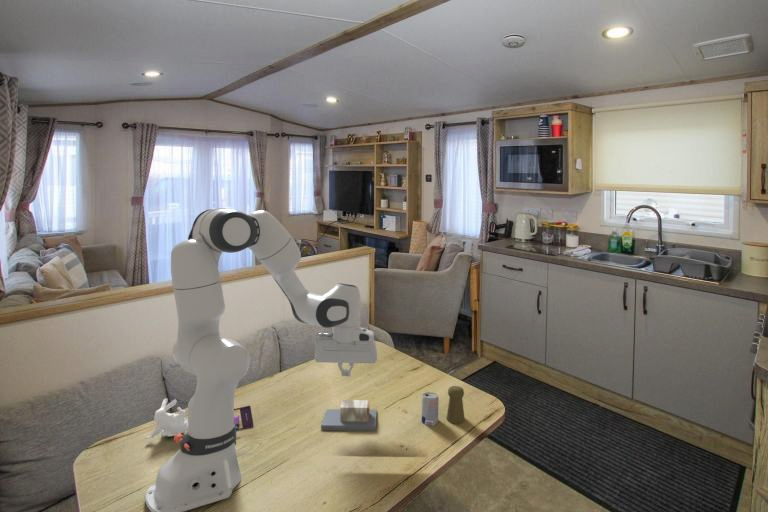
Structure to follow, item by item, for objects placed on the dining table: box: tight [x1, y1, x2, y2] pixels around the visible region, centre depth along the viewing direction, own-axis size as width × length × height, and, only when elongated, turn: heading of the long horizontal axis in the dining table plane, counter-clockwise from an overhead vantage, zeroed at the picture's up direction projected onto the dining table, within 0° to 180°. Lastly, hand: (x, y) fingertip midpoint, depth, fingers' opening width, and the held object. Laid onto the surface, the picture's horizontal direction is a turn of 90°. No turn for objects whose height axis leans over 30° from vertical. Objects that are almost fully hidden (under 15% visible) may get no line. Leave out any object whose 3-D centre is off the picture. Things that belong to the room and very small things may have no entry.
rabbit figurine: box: [145, 398, 188, 439], centre depth 131 cm, size 12×8×10 cm, turn 100°
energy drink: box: [421, 391, 440, 427], centre depth 138 cm, size 5×5×12 cm
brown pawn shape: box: [446, 385, 466, 425], centre depth 139 cm, size 6×6×11 cm
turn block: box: [339, 399, 370, 422], centre depth 138 cm, size 4×6×9 cm
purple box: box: [234, 405, 254, 431], centre depth 135 cm, size 7×5×9 cm
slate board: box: [320, 408, 378, 431], centre depth 138 cm, size 17×12×2 cm
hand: (345, 375), depth 137 cm, fingers closed
